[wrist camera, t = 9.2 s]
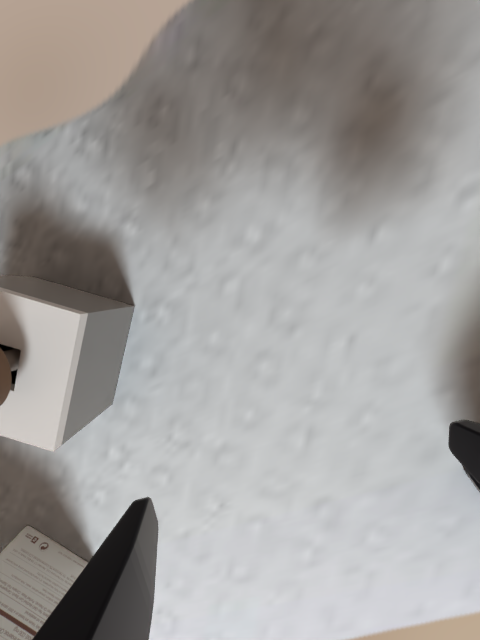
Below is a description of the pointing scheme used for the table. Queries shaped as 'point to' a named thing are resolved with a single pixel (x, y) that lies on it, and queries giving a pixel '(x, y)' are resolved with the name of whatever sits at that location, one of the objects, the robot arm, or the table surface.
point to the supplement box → (33, 582)
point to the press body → (58, 358)
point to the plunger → (7, 370)
